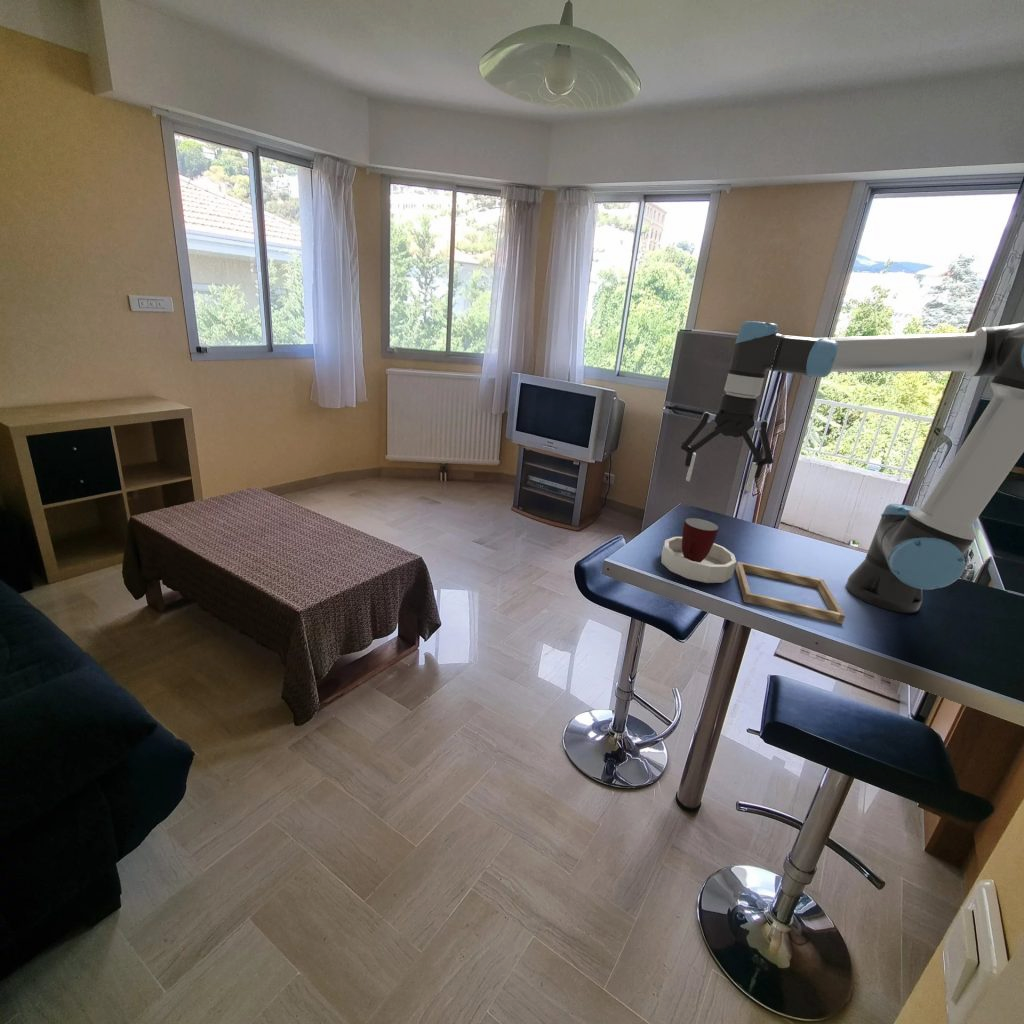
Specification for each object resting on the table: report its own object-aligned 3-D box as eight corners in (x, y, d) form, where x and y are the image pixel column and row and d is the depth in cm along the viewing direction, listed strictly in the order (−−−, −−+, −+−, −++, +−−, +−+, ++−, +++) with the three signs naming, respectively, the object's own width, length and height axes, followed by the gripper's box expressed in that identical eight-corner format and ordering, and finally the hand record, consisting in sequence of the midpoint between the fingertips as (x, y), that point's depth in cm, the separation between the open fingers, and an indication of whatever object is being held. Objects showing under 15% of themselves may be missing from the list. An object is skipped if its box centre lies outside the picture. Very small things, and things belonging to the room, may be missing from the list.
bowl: (727, 560, 137) (731, 545, 135) (734, 589, 121) (739, 572, 120) (661, 546, 140) (665, 531, 139) (660, 572, 125) (664, 556, 123)
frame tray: (820, 586, 128) (823, 579, 127) (842, 623, 111) (845, 615, 110) (735, 568, 132) (737, 561, 131) (744, 601, 116) (746, 593, 115)
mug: (700, 574, 125) (710, 536, 121) (668, 562, 129) (677, 525, 125) (712, 560, 133) (722, 525, 130) (681, 550, 137) (690, 515, 134)
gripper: (797, 401, 116) (770, 490, 124) (683, 385, 122) (664, 471, 129) (805, 405, 109) (776, 499, 117) (683, 388, 115) (663, 479, 123)
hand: (717, 485), depth 123 cm, fingers open, 13 cm apart
